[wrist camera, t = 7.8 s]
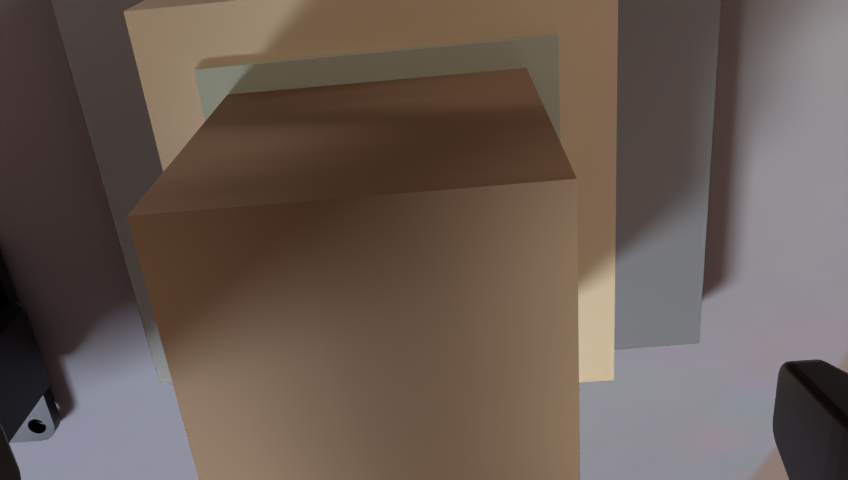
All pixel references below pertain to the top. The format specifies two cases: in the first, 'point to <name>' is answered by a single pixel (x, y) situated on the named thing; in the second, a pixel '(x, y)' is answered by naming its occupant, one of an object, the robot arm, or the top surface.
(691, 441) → the top surface
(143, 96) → the foundation
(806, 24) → the top surface
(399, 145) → the tan cube
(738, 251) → the top surface
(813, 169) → the top surface
